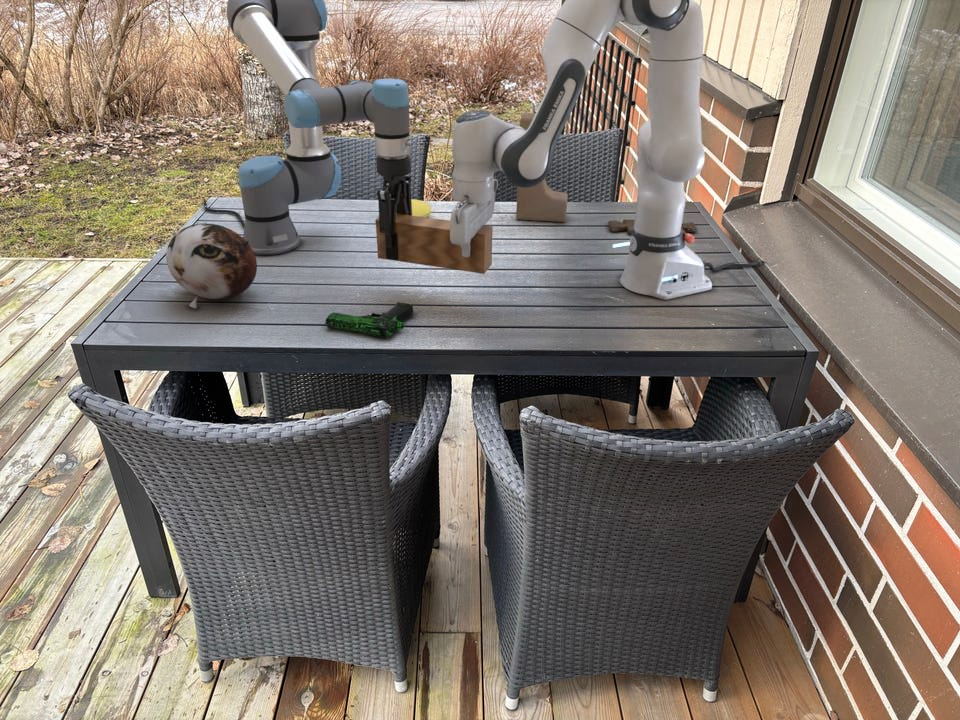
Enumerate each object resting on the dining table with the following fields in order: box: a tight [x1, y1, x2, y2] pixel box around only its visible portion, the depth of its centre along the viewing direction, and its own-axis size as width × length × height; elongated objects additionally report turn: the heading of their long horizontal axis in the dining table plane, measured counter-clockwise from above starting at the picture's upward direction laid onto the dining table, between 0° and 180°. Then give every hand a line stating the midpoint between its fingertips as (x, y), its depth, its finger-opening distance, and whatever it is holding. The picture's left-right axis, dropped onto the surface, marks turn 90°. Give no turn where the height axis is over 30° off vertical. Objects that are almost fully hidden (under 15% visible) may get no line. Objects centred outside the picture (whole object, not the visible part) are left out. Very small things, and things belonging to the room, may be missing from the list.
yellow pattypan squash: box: [396, 198, 433, 218], centre depth 215 cm, size 16×16×7 cm
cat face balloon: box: [165, 222, 258, 309], centre depth 165 cm, size 22×18×20 cm
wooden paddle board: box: [607, 219, 697, 235], centre depth 211 cm, size 26×2×10 cm
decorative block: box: [515, 112, 568, 223], centre depth 212 cm, size 8×15×30 cm, turn 82°
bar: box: [375, 214, 494, 275], centre depth 164 cm, size 26×6×9 cm, turn 72°
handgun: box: [324, 301, 414, 339], centre depth 158 cm, size 16×3×15 cm
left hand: (397, 253), depth 168 cm, fingers closed on bar, 6 cm apart
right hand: (472, 249), depth 162 cm, fingers open, 6 cm apart
